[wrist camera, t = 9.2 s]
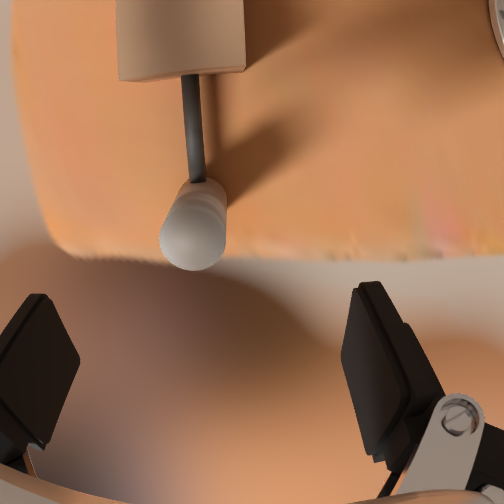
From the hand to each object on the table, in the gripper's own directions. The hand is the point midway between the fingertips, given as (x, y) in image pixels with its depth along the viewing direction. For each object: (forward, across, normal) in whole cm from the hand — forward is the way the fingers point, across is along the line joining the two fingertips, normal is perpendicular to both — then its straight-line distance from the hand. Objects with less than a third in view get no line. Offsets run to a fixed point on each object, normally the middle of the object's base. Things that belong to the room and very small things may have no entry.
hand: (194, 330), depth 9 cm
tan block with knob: (+13, +1, -6) cm, 14 cm away
